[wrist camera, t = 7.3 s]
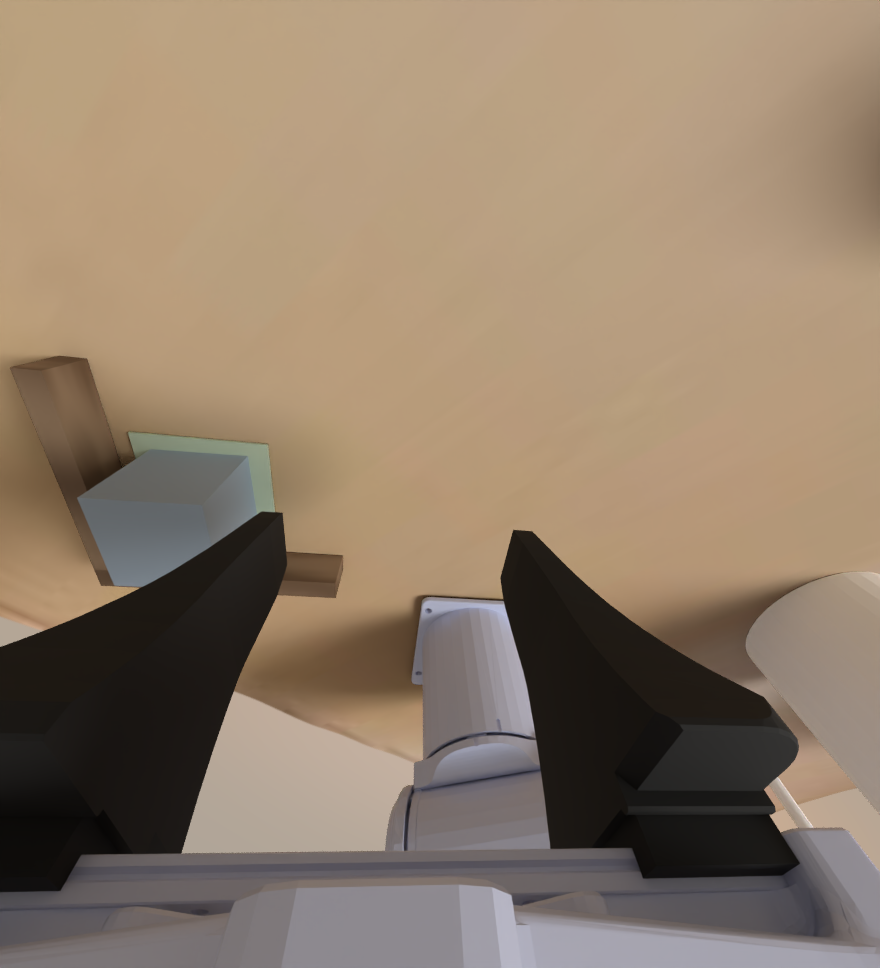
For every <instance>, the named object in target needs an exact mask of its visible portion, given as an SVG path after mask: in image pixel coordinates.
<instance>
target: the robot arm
mask: <svg viewBox="0 0 880 968" xmlns="http://www.w3.org/2000/svg"><path fill="white" fill-rule="evenodd" d="M286 567H287V556H286V545H285V535H284V524H283V513H278V512H265V511H261V512H260V513H258V514H257V515H255V516H254V517H252V518H251V519H249V520H248V521H247V522H245V523H244V524H242V525H241V526H240V527H238V528H237V529H235V530H234V531H232V532H231V533H230V534H228V535H227V536H225V537H224V538H222V539H221V540H219V541H218V542H216V543H215V544H214V545H212V546H211V547H209V548H208V549H206V550H205V551H203V552H201V553H200V554H198V555H197V556H195V557H193V558H192V559H190V560H189V561H187V562H185V563H184V564H182V565H181V566H179V567H177V568H176V569H174V570H172V571H171V572H169V573H167V574H165V575H164V576H162V577H160V578H158V579H156V580H155V581H153V582H151V583H149V584H147V585H145V586H143V587H141V588H139V589H137V590H136V591H134V592H132V593H130V594H128V595H126V596H123V597H121V598H119V599H117V600H115V601H113V602H110V603H108V604H106V605H104V606H102V607H99V608H97V609H95V610H93V611H91V612H88V613H86V614H84V615H82V616H79V617H77V618H75V619H72V620H70V621H67V622H65V623H63V624H60V625H58V626H55V627H53V628H50V629H48V630H45V631H42V632H40V633H37V634H35V635H32V636H29V637H27V638H24V639H21V640H19V641H16V642H13V643H10V644H8V645H5V646H2V647H0V968H880V872H879V870H878V869H877V868H876V866H875V865H874V864H873V862H872V861H871V860H870V859H869V857H868V856H867V855H866V853H865V852H864V851H863V849H862V848H861V847H860V845H859V844H858V843H857V842H856V840H855V839H854V838H853V836H852V835H851V834H850V832H849V831H847V830H845V829H843V828H796V829H790V830H787V831H784V832H781V833H780V831H779V830H778V828H777V827H776V825H775V823H774V822H773V820H772V819H771V817H770V816H769V814H773V813H775V812H776V811H775V806H774V804H773V803H772V801H771V800H770V798H769V797H768V795H767V794H766V792H765V791H764V789H765V788H766V787H767V786H768V785H769V784H770V783H771V782H772V781H773V780H775V779H776V778H777V777H778V776H779V775H780V774H781V773H782V772H784V771H785V770H786V769H787V768H788V767H789V766H790V765H791V763H792V762H793V761H794V760H795V758H796V756H797V753H798V749H799V745H798V740H797V738H796V737H795V735H794V734H793V733H792V732H791V730H790V729H789V728H788V727H787V725H786V724H785V723H784V722H783V720H782V719H781V718H780V717H779V715H778V714H777V713H776V712H775V710H774V709H773V708H772V707H771V705H770V704H769V703H768V702H767V700H766V699H765V698H764V697H762V696H760V695H758V694H756V693H754V692H752V691H750V690H748V689H746V688H744V687H742V686H741V685H739V684H737V683H735V682H733V681H731V680H729V679H727V678H725V677H723V676H721V675H719V674H717V673H715V672H713V671H711V670H709V669H707V668H706V667H704V666H702V665H700V664H699V663H697V662H695V661H693V660H692V659H690V658H688V657H686V656H684V655H683V654H681V653H679V652H678V651H676V650H675V649H673V648H671V647H670V646H668V645H666V644H665V643H663V642H662V641H660V640H659V639H657V638H656V637H654V636H653V635H651V634H650V633H648V632H647V631H645V630H643V629H642V628H641V627H639V626H638V625H636V624H635V623H633V622H632V621H631V620H629V619H628V618H627V617H625V616H624V615H623V614H621V613H620V612H619V611H617V610H616V609H615V608H614V607H612V606H611V605H610V604H608V603H607V602H606V601H605V600H604V599H602V598H601V597H600V596H599V595H598V594H596V593H595V592H594V591H593V590H592V589H591V588H590V587H588V586H587V585H586V584H585V583H584V582H583V581H582V580H581V579H580V578H579V577H577V576H576V575H575V574H574V573H573V572H572V571H571V570H570V569H569V568H568V567H567V566H566V565H565V564H564V563H563V562H562V561H561V560H560V559H559V558H558V557H557V556H556V555H555V554H554V553H553V552H552V551H551V550H550V549H549V548H548V547H547V546H546V545H545V544H544V543H543V542H542V541H541V540H540V539H539V538H538V537H537V536H536V535H535V534H534V533H533V532H532V531H521V530H513V533H512V537H511V541H510V544H509V548H508V552H507V556H506V559H505V563H504V567H503V571H502V574H501V585H502V592H503V599H504V601H493V600H474V599H456V598H438V597H426V598H424V599H423V600H422V604H421V611H420V618H419V626H418V633H417V640H416V647H415V655H414V662H413V669H412V676H411V681H412V683H413V684H416V685H423V760H422V761H418V762H415V763H414V785H408V786H406V787H404V788H403V789H402V791H401V792H400V794H399V797H398V799H397V801H396V803H395V804H394V806H393V809H392V811H391V814H390V818H389V824H388V829H387V836H386V847H385V851H350V852H349V851H345V852H275V853H274V852H272V853H271V852H267V853H192V854H191V853H188V854H187V853H185V854H181V853H182V849H183V846H184V842H185V839H186V836H187V832H188V829H189V826H190V822H191V819H192V815H193V812H194V808H195V805H196V802H197V798H198V795H199V792H200V789H201V786H202V783H203V780H204V777H205V774H206V770H207V767H208V764H209V761H210V758H211V755H212V752H213V749H214V746H215V743H216V740H217V737H218V734H219V731H220V728H221V725H222V722H223V720H224V717H225V714H226V711H227V708H228V705H229V703H230V700H231V697H232V694H233V692H234V689H235V686H236V684H237V681H238V678H239V676H240V673H241V671H242V669H243V666H244V664H245V662H246V660H247V658H248V655H249V653H250V651H251V649H252V647H253V645H254V643H255V641H256V639H257V637H258V635H259V633H260V631H261V629H262V626H263V624H264V622H265V620H266V618H267V616H268V614H269V612H270V610H271V608H272V606H273V603H274V601H275V599H276V597H277V595H278V592H279V589H280V586H281V583H282V580H283V577H284V574H285V571H286ZM428 608H429V609H428Z"/></svg>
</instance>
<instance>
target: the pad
mask: <svg viewBox="0 0 880 968" xmlns="http://www.w3.org/2000/svg"><path fill="white" fill-rule="evenodd" d="M128 434H129V438H130V441H131V445H132V448H133V451H134V455H135V458H136V459H137V458H138V457H140V456H141V455H143V454H144V453H146V452H147V451H149V450H150V449H155V450H169V451H183V452H198V453H212V454H226V455H240V456H248V460H249V467H250V473H251V479H252V486H253V492H254V498H255V504H256V511H257V514H258V513H260V512H261V511H265V512H275V506H274V497H273V487H272V478H271V468H270V459H269V449H268V444H262V443H251V442H240V441H229V440H218V439H207V438H197V437H186V436H175V435H164V434H153V433H142V432H131V431H130V432H128Z"/></svg>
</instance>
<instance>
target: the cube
mask: <svg viewBox="0 0 880 968" xmlns="http://www.w3.org/2000/svg"><path fill="white" fill-rule="evenodd" d="M77 499H78V501H79V504H80V506H81V508H82V511H83V513H84V515H85V518H86V520H87V522H88V525H89V527H90V529H91V532H92V534H93V537H94V539H95V541H96V544H97V546H98V548H99V551H100V553H101V555H102V558H103V560H104V562H105V565H106V567H107V569H108V572H109V574H110V577H111V579H112V581H113V584H114V586H133V587H143V586H145V585H147V584H149V583H151V582H153V581H155V580H156V579H158V578H160V577H162V576H164V575H165V574H167V573H169V572H171V571H172V570H174V569H176V568H177V567H179V566H181V565H182V564H184V563H185V562H187V561H189V560H190V559H192V558H193V557H195V556H197V555H198V554H200V553H201V552H203V551H205V550H206V549H208V548H209V547H211V546H212V545H214V544H215V543H216V542H218V541H219V540H221V539H222V538H224V537H225V536H227V535H228V534H230V533H231V532H232V531H234V530H235V529H237V528H238V527H240V526H241V525H242V524H244V523H245V522H247V521H248V520H249V519H251V518H252V517H254V516H255V515H257V511H256V504H255V498H254V492H253V486H252V479H251V473H250V467H249V460H248V456H240V455H226V454H212V453H198V452H183V451H169V450H155V449H150V450H149V451H147V452H146V453H144V454H143V455H141V456H140V457H138V458H137V459H135V460H134V461H132V462H131V463H129V464H128V465H126V466H125V467H123V468H122V469H120V470H119V471H117V472H116V473H114V474H112V475H111V476H109V477H108V478H106V479H105V480H103V481H102V482H100V483H99V484H97V485H96V486H94V487H93V488H91V489H90V490H88V491H87V492H85V493H84V494H82V495H81V496H79V497H78V498H77Z"/></svg>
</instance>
